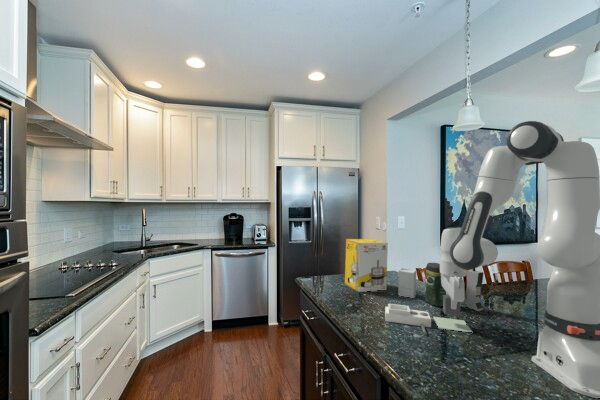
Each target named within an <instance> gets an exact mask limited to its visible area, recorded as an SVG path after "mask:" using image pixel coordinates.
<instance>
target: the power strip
mask: <svg viewBox="0 0 600 400" xmlns="http://www.w3.org/2000/svg"><path fill="white" fill-rule="evenodd" d="M384 308H385V309H384V310H385V311H384V321H385V322H390V323H396V324H397V323H398V324H404V325H411V326H418V327H421V329H422V330H421V331H422V332H423V335H424V336H426V337H427V336H428V333H427V331H426V330H427V329H426V327H427V328H432V318H431V316H430V313H429V312H428V311H425V310H417V309H410V306H409V305H403V304H395V303H388V304H387V306H385V307H384Z"/></svg>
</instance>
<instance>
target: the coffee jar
mask: <svg viewBox="0 0 600 400" xmlns="http://www.w3.org/2000/svg"><path fill="white" fill-rule="evenodd" d="M439 265H440V262H439V263H438V262H428V263H426V267H425V271H426V272H425V273H426V282H425V283H426V285H425V286H426V288H425V296H424V297H425V298H424V300H425V302H426V301H427V304H430V305H432V306H434V305H435V307H441V306H443V295H446V291H445V290H444V288H443V287H442V284H441V273H440V269H439Z"/></svg>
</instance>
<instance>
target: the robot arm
mask: <svg viewBox="0 0 600 400" xmlns="http://www.w3.org/2000/svg"><path fill="white" fill-rule="evenodd" d="M595 150H596V149H595V148H594V146H593V145H592V144H590V143H588V142H585V141H580V140H573V141H572V140H571V141H565V140H564V138H563V136H562V135H561V134H560V133H559V132H558V131H556V129H555V128H553V127H551V126H550V125H548V124H545V123H543V122H540V121H536V120H527V121H523V122H520V123H518V124H516V125H514V126H513V127H512V128H511V129H510V130H509V132H508V133H507V135H506V145H497V146H493V147H492V148H490V149H489V150H487V152H486V153H485V155H484V158H483V160H482V163H481V166H480V169H479V173H478V176H477V180H476V184H475V186H474V187H475V188H474V191H473V195H472V197H471V200H470V201H469V204H468V208H467V210H466V213H465V216H464V218H463V222H462V226H454V227H453V226H452V227H446V228H445V229H443V230H442V233H441V237H440V238H441V239H440V253H441V255H440V259H439V264H440V265H439V269H440V273H441V284H442V287H443V288H444V290H445V291H446V295H449V296H450V297H451V303H450V307H451V309H455V310H456V309H457V303H458V302H460V303H464V301H465V294H466V293H465V282H464V281H465V280H464V279H463V278H465V277H467V271H469V270H473V269H475V270H476V269H477V268H480V267H483V266H487V265H490V264H493V263H494V262H495V261H496V260H497V258H498V254H499V253H498V248H497V246H496V244H495V243H494V242H493V241H491V240H490V239H487V238H484V237H483V235H484V232H485V229H486V227H487V223H488V219H489V218H490V216H491V215H492V213H493V212H494V211H495V210H497V209H498V208H500V207H501V206H503V205H505V204H506V203H508V202H509V201H510V199H511V197H512V195H513V194H514V192H515V189H516V184H517V182H518V176H519V173H520V170H521V168H522V167H523V166H524V165H525V166H531V165H536V164H542V163H544V165H545V169H546V212H545V216H544V217H545V218H544V219H543V220H544V221H543V226H542V231H541V237H540V238H539V240H538V242H537V244H536V245H537V246H536V248H537V253H538V255H539V257H540V258H541V259H542V261H543V262H545V263H547V264H548V265H550V266H553V267H552V271H551V275H550V278H549V280H548V282H547V285H546V287H547V288H546V310H545V311H544V316H543V319H544V324H545V326H544V328H543V329H542V330H540V332H539V333H538V340H537V348H536V349H537V350H536V355H532V356H531V361H532V362H533V363H534V364H535V365H537V366H538V367H540V368H541V369H542V370H544V371H545V372H546V373H548V374H549V375H550V376H552V377H553V378H555V379H556V380H557V381H558V382H560V383H561V384H563V385H564V386H566V387H567V388H568V389H569V390H571V391H573V392H575V393H578V394H580V395H583V396H586V397H589V398H595V399H597V398H600V234H599V233H598V232H596V227H597V221H598V215H599V212H600V167H599V160H598V157H597V153H596V151H595Z"/></svg>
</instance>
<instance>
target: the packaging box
mask: <svg viewBox="0 0 600 400" xmlns="http://www.w3.org/2000/svg"><path fill="white" fill-rule="evenodd" d="M388 247H389V246H388V242H384V241H380V240H377V239H372V238H365V239H364V238H355V239H354V238H346V239H345V262H344V263H345V264H344V266H345V267H344V284H345V285H346V286H348V287H349V288H351V289H353V290H354V291H356V292H357V293H368V292H367V291H371V292H378V291H377V290H386V291H387V280H388V279H387V277H388V276H387V275H388Z"/></svg>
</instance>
